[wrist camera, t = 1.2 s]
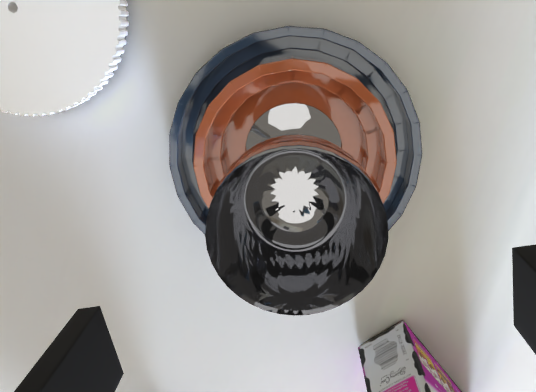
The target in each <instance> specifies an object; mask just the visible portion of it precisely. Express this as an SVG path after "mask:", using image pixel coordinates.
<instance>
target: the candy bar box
mask: <svg viewBox="0 0 536 392" xmlns="http://www.w3.org/2000/svg"><path fill="white" fill-rule="evenodd" d="M358 350H359V354H360V359H361V363H362V368H363V372H364V378H365V382H366V387H367V392H461V390H460V389H459V388H458V387H457V386H456V384H455V383H454V382H453V381H452V380H451V378H450V377H449V376H448V375H447V373H446V372H445V371H444V370H443V369H442V367H441V366H440V365H439V364H438V363H437V361H436V360H435V359H434V358H433V356H432V355H431V354H430V353H429V352H428V350H427V349H426V348H425V347H424V345H423V344H422V343H421V342H420V341H419V339H418V338H417V337H416V336H415V334H414V333H413V332H412V331H411V329H410V328H409V327H408V326H407V324H406V323H405V322H404V321H401V322H399V323H398V324H396V325H394V326H392V327H391V328H389V329H388V330H386V331H385V332H383V333H381V334H379V335H377V336H375V337H374V338H372V339H370V340H368V341H367V342H365V343H364V344H362V345H361V346H359V347H358Z"/></svg>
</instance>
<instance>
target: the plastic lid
mask: <svg viewBox="0 0 536 392" xmlns="http://www.w3.org/2000/svg"><path fill="white" fill-rule="evenodd" d="M126 6H128V2H127V1H125V0H0V109H1V110H2V112H4V113H8V112H11V114H12V115H16V114H20V116H26V115H29V117H33V116H36V115H38V116H43V115H51V114H54V113H55V114H56V113H59V112H62V111H65V110H68V109H71V108H73V107H76V106H77V105H80V104H82V103H84V101H87V100H89V99H91V98H90V97H92V96H95V95H96V94H97V91H100V90H102V89H103V86H102V85H105V84H107V83H108V82H109V81H108V78H111V77H112V76H113V75H114V74H113V71H114V70H117V68H118V66H117V63H118V62H121V59H122V58H121V57H120V55H121V54H123V53H124V51H125V50H124V49H123V46H124V45H126V43H127V41H126V40H125V36H127V35H128V31H127V30H126V26H129V21H127V16H129V12H128V11H126Z"/></svg>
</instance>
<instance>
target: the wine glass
mask: <svg viewBox="0 0 536 392" xmlns="http://www.w3.org/2000/svg"><path fill="white" fill-rule="evenodd" d="M205 237H206V244H207V250H208V253H209V256H210V259H211V262H212V264H213V266H214V268H215V270H216V272H217V273H218V275H219V277H220V278H221V279H222V280H223V282H224V283H225V284H226V285H227V287H229V288H230V289H231V290H232V291H233V292H234V293H235V294H236V295H238V296H239V297H240V298H242V299H244V300H245V301H247V302H248V303H250V304H252V305H254V306H256V307H259V308H261V309H263V310H266V311H270V312H274V313H278V314H286V315H309V314H315V313H320V312H324V311H327V310H330V309H333V308H335V307H338V306H340V305H341V304H343V303H345V302H347V301H349V300H350V299H352V298H353V297H354V296H356V295H357V294H358V293H359V292H361V291H362V290H363V289H364V288H365V287H366V286H367V285H368V283H369V282H370V281H371V280H372V279H373V277H374V276H375V274H376V272H377V271H378V269H379V268H380V265H381V263H382V261H383V258H384V256H385V252H386V247H387V242H388V222H387V216H386V211H385V208H384V205H383V203H382V200H381V198H380V195H379V193H378V191H377V189H376V187H375V185H374V184H373V182H372V180H371V179H370V177H369V176H368V174H367V173H366V171H365V170H364V169H363V167H362V166H361V165H360V164H359V163H358V162H357V161H356V160H355V159H354V158H353V157H352V156H351V155H350V154H349V153H347V152H346V151H345V150H343V149H342V142H341V137H340V134H339V132H338V129H337V127H336V126H335V124H334V123H333V121H332V120H331V119H330V118H329V117H328V116H327V115H326V114H325V113H323V112H322V111H321V110H319V109H317V108H315V107H313V106H310V105H307V104H303V103H285V104H281V105H277V106H275V107H273V108H271V109H269V110H267V111H266V112H265V113H263V114H262V115H261V116H260V117H259V118H258V119H257V120H256V121H255V123H254V124H253V125H252V127H251V129H250V131H249V133H248V136H247V140H246V146H245V152H244V153H243V154H242V155H241V156H240V157H239V158H238V159H237V160H236V161H235V162H234V163H233V164H232V165H231V167H230V168H229V169H228V171H227V172H226V174H225V175H224V177H223V178H222V180H221V181H220V183H219V185H218V187H217V189H216V192H215V194H214V196H213V198H212V201H211V203H210V207H209V211H208V215H207V218H206V230H205Z"/></svg>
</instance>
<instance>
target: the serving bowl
mask: <svg viewBox="0 0 536 392" xmlns="http://www.w3.org/2000/svg"><path fill="white" fill-rule="evenodd" d="M286 56H301V57H308V58H315V59H322V60H325V61H327V62H329V63H331V64H333V65H335V66H337V67H339V68H341V69H343V70H345V71H347V72H349V73H350V74H352V75H353V76H355V77H356V78H357V79H358V80H359V81H360V82H361V83H362V84H363V85H364V86H365V87H366V88H367V89H368V90H369V91H370V92H371V93H372V94H373V95H374V96H375V97H376V98H377V99H378V100H379V101H380V103H381V105H382V107H383V109H384V111H385V113H386V116H387V118H388V120H389V122H390V124H391V126H392V128H393V132H394V139H395V149H396V159H397V162H396V163H397V164H396V169H395V173H394V177H393V182H392V186H391V190H390V193H389V195H388V197H387V198H386V200H385V202H384V203H383V205H384V208H385V211H386V216H387V222H388V231H389V230H390V228H391V227H392V226H393V225H394V224H395V223H396V221H397V220H398V219H399V218H400V217H401V215H402V214H403V212H404V210H405V208H406V206H407V204H408V202H409V200H410V198H411V196H412V194H413V192H414V190H415V187H416V184H417V179H418V174H419V169H420V163H421V158H422V145H421V133H420V123H419V119H418V117H417V114H416V111H415V109H414V106H413V103H412V101H411V98H410V95H409V93H408V91H407V89H406V88H405V86H404V85H403V84H402V82H401V81H400V80H399V78H398V77H397V76H396V74H395V73H394V72H393V70H392V69H391V68H390V66H389V65H388V64H387V63H386V62H385V61H384V60H383V59H381V58H380V57H379V56H377V55H376V54H375V53H373V52H372V51H371V50H369V49H368V48H366V47H365V46H364V45H362V44H361V43H360V42H358V41H356V40H353V39H351V38H348V37H345V36H343V35H340V34H337V33H335V32H332V31H329V30H327V29H321V28H308V27H295V26H289V27H288V26H286V27H281V28H276V29H271V30H266V31H261V32H256V33H253V34H250V35H248V36H246V37H244V38H242V39H241V40H239V41H237V42H235V43H233V44H231V45H229V46H227V47H225V48H223V49H222V50H220V51H219V52H218V53H217V54H216V55H215V56H214V57H213V58H212V59H210V60H209V61H208V62H207V63H206V64H205V65H204V66H203V67H202V68H201V69H200V70H199V71H198V72H197V73H196V74H195V75H194V77H193V79H192V80H191V82H190V84H189V85H188V87H187V89H186V90H185V92H184V93H183V95H182V97H181V98H180V100H179V102H178V105H177V108H176V112H175V115H174V119H173V123H172V126H171V130H170V135H169V165H170V170H171V173H172V177H173V181H174V184H175V188H176V192H177V195H178V197H179V199H180V201H181V203H182V204H183V206H184V208H185V210H186V211H187V213H188V215H189V217H190V218H191V220H192V222H193V223H194V224H195V225H196V226H197V227H198V228H199V229H200V230H201V231H202V232H203V233H204V234H205V230H206V218H207V215H208V211H209V208H208V206H207V205H206V203H205V202H204V200H203V198H202V197H201V195H200V192H199V188H198V184H197V180H196V176H195V172H194V168H193V161H194V147H195V136H196V133H197V130H198V128H199V126H200V123H201V121H202V118H203V116H204V114H205V111H206V109H207V107H208V105H209V104H210V103H211V102H212V101H213V100H214V98H215V97H216V96H217V95H218V94H219V93H220V92H221V91H222V89H223V88H224V87H225V86H226V85H227V84H228V83H229V82H230V81H231V80H232V79H233V78H234V77H236V76H237V75H239V74H240V73H242V72H244V71H246V70H248V69H249V68H251V67H253V66H255V65H256V64H258V63H260V62H262V61H266V60H271V59H276V58H281V57H286Z"/></svg>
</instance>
